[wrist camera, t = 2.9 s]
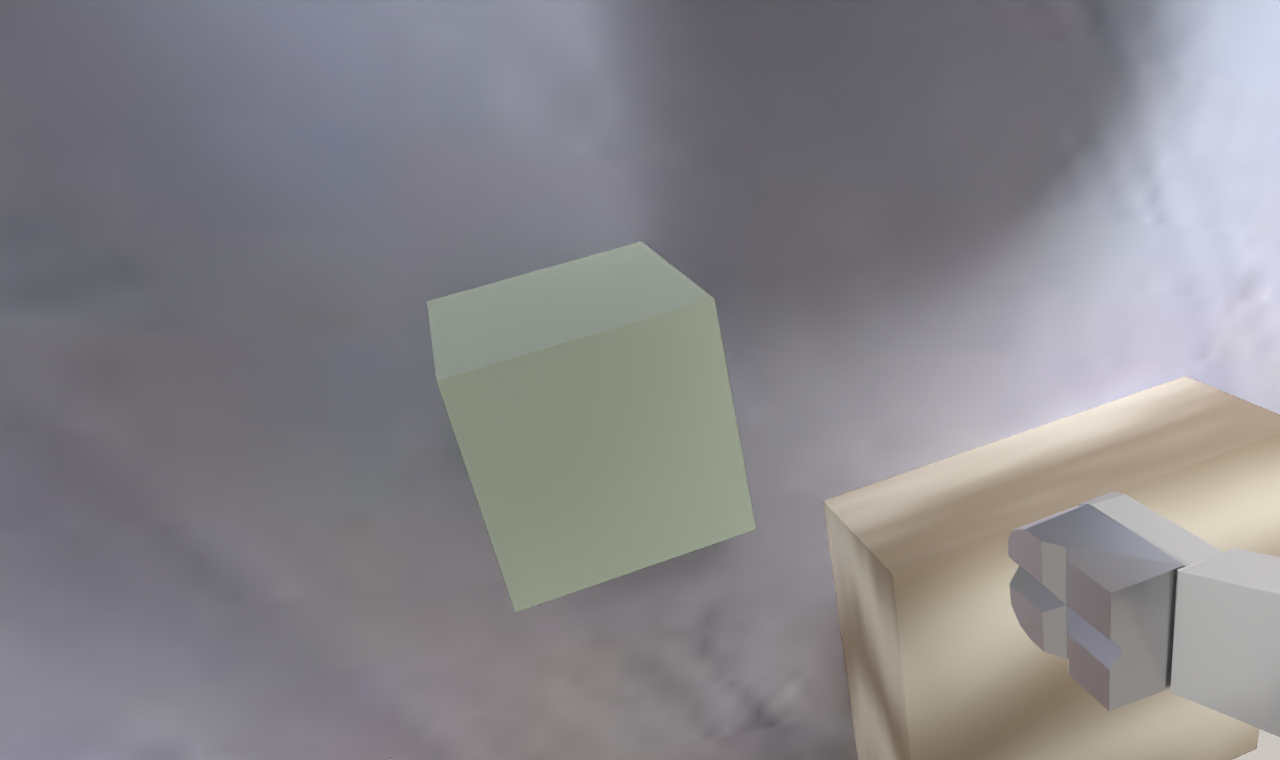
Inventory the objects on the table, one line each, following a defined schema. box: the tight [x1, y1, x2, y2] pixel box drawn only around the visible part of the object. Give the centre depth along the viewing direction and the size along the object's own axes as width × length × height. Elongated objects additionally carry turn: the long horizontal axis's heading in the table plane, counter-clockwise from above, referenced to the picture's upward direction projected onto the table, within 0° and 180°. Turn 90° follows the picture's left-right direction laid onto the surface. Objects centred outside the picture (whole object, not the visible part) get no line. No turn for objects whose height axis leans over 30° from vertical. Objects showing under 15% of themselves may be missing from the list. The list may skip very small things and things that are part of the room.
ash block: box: [823, 376, 1280, 760], centre depth 25 cm, size 12×12×4 cm
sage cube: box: [427, 241, 756, 613], centre depth 18 cm, size 5×5×5 cm
